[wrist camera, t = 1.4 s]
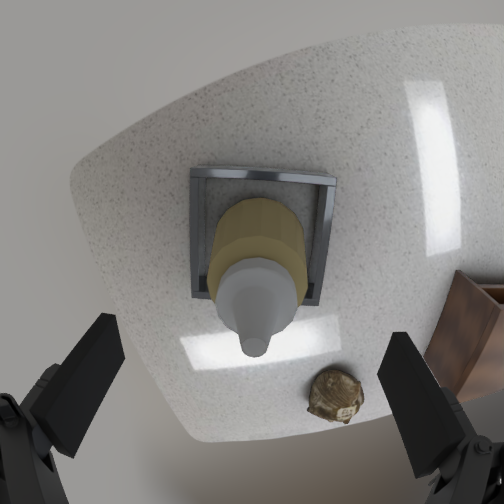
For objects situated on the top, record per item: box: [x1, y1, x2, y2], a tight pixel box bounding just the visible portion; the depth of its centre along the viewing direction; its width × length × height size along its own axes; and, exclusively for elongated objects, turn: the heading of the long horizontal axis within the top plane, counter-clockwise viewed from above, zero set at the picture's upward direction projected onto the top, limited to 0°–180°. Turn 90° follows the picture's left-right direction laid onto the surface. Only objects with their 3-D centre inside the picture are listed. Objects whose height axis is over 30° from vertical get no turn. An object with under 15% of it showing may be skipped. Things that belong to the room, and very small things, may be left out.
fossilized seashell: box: [307, 370, 364, 424], centre depth 35 cm, size 8×7×10 cm
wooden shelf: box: [423, 270, 504, 403], centre depth 28 cm, size 14×16×10 cm
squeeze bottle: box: [207, 197, 308, 357], centre depth 21 cm, size 8×8×18 cm
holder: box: [190, 165, 337, 306], centre depth 28 cm, size 13×13×4 cm
